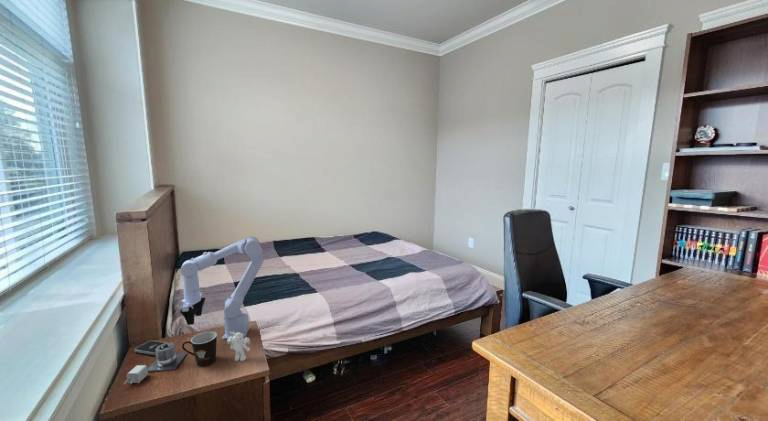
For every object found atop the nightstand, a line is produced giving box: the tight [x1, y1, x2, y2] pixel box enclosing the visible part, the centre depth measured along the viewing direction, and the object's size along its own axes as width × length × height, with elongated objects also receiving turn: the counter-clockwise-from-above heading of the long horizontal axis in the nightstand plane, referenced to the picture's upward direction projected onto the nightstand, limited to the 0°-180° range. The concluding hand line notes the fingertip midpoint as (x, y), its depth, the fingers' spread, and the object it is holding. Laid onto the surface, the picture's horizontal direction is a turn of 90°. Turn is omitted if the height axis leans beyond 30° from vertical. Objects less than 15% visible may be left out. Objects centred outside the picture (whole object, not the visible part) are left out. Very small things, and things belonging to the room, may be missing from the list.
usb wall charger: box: [123, 364, 149, 385], centre depth 112 cm, size 4×7×4 cm, turn 1°
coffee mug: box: [181, 331, 218, 368], centre depth 123 cm, size 12×9×10 cm
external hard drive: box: [134, 340, 166, 358], centre depth 131 cm, size 7×11×2 cm, turn 76°
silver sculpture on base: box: [147, 348, 188, 373], centre depth 122 cm, size 10×10×6 cm
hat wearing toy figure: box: [226, 331, 251, 362], centre depth 124 cm, size 9×4×12 cm, turn 81°
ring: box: [155, 342, 176, 361], centre depth 122 cm, size 6×6×4 cm
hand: (194, 319), depth 135 cm, fingers open, 7 cm apart
